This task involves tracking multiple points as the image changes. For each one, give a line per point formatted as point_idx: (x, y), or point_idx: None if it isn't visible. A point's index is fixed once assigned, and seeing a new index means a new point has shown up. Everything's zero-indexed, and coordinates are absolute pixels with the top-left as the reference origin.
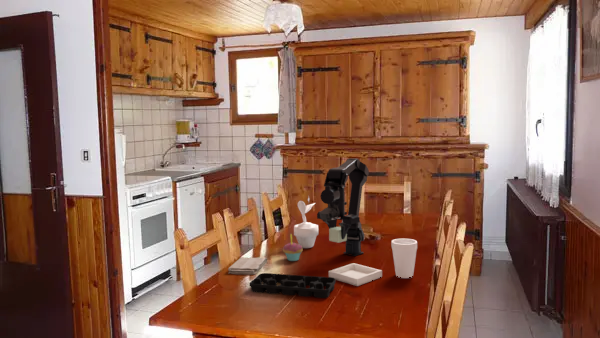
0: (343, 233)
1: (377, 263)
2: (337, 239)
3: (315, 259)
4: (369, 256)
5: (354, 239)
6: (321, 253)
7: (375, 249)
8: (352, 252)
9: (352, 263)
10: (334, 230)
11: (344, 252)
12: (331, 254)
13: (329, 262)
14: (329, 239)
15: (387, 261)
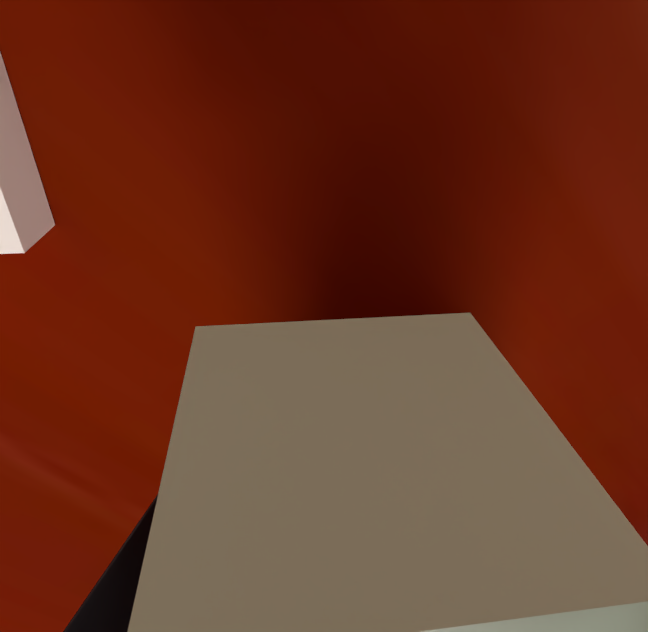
0: (89, 611)
1: (90, 459)
2: (219, 370)
3: (590, 199)
4: None
5: None
6: (620, 355)
7: None
8: None
9: (12, 230)
10: (364, 595)
11: None
12: (532, 386)
13: (412, 223)
14: (477, 328)
15: (90, 521)
